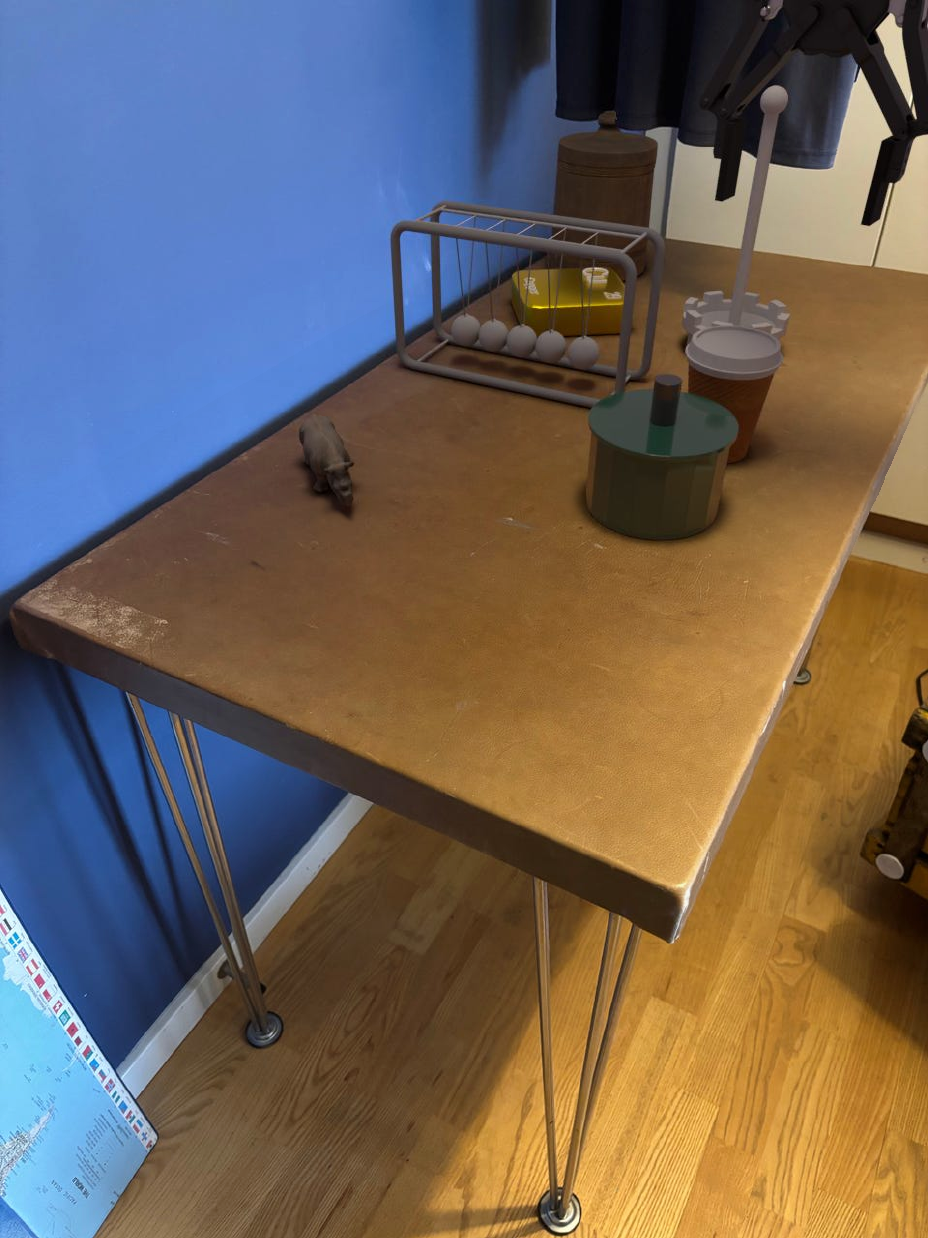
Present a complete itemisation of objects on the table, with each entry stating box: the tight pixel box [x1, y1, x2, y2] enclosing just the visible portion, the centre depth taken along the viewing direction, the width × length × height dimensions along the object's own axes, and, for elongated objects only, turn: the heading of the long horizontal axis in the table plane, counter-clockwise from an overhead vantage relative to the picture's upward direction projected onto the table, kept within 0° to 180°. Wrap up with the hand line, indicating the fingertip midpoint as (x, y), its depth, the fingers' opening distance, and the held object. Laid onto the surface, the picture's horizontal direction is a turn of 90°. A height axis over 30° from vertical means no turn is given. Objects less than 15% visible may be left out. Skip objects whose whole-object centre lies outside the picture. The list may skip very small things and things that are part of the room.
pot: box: [585, 431, 730, 541], centre depth 87 cm, size 13×13×8 cm
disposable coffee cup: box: [684, 325, 784, 464], centre depth 94 cm, size 10×10×12 cm
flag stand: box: [681, 85, 791, 346], centre depth 109 cm, size 13×13×30 cm
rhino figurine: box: [298, 413, 355, 507], centre depth 90 cm, size 4×14×6 cm, turn 21°
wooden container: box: [549, 110, 659, 282], centre depth 137 cm, size 15×15×22 cm
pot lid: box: [587, 373, 739, 461], centre depth 83 cm, size 14×14×5 cm
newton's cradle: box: [389, 200, 666, 409], centre depth 108 cm, size 30×10×18 cm, turn 62°
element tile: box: [510, 267, 625, 338], centre depth 127 cm, size 15×15×5 cm
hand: (794, 209), depth 82 cm, fingers open, 13 cm apart
